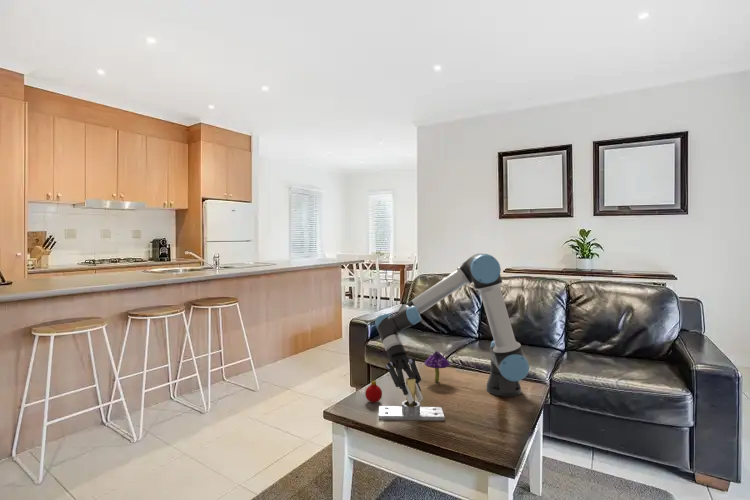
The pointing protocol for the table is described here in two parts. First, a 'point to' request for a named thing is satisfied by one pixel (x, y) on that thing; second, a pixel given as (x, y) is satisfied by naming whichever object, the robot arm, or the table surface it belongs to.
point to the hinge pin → (411, 390)
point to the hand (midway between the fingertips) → (416, 401)
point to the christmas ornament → (373, 392)
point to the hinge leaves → (410, 412)
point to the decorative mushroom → (437, 363)
